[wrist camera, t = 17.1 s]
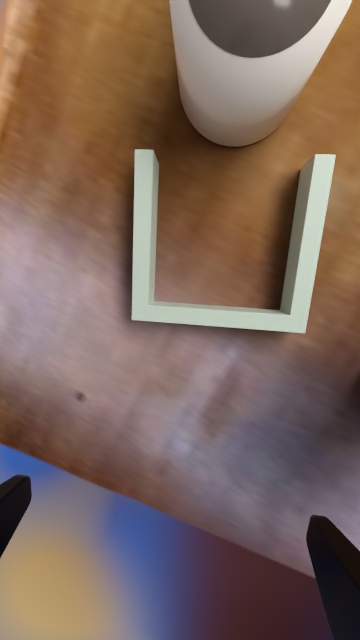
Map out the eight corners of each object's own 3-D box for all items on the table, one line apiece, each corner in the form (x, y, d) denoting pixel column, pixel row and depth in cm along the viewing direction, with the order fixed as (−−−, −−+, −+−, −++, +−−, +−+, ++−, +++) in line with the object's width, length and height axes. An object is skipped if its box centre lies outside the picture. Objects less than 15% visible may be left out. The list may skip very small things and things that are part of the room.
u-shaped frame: (318, 169, 17) (335, 154, 15) (293, 326, 19) (305, 333, 17) (142, 164, 18) (134, 149, 15) (139, 314, 20) (131, 320, 18)
